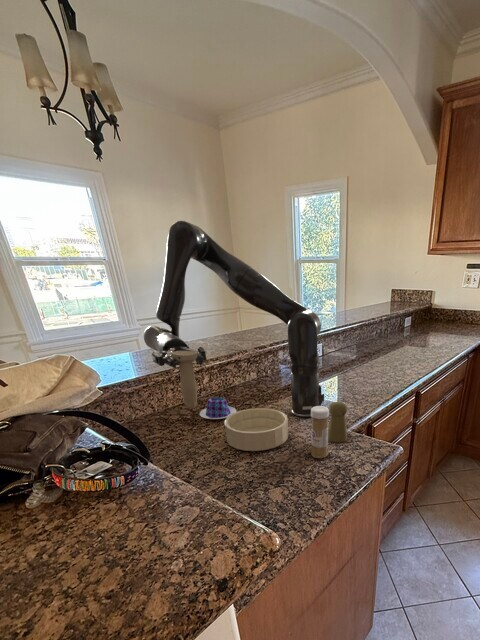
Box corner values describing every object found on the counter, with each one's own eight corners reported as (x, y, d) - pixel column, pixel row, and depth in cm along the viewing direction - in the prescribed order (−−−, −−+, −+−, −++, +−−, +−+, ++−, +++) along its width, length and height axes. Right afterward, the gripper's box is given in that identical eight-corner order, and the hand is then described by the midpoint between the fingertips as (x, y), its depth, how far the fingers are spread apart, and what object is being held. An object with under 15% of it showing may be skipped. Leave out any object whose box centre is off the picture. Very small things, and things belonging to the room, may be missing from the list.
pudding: (241, 408, 124) (239, 394, 122) (229, 422, 113) (227, 407, 111) (208, 406, 125) (206, 392, 123) (193, 420, 114) (191, 405, 112)
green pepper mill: (349, 435, 106) (351, 400, 101) (344, 443, 101) (345, 408, 96) (330, 432, 108) (331, 398, 103) (324, 440, 102) (324, 405, 98)
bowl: (272, 421, 114) (271, 404, 112) (298, 442, 101) (298, 423, 98) (218, 434, 105) (216, 415, 103) (240, 459, 92) (238, 438, 90)
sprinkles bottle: (307, 455, 94) (307, 408, 89) (318, 449, 98) (319, 404, 92) (320, 461, 92) (320, 413, 86) (331, 454, 95) (332, 408, 89)
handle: (196, 411, 95) (190, 356, 89) (176, 408, 97) (167, 353, 90) (206, 405, 100) (200, 352, 93) (186, 402, 101) (179, 349, 94)
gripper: (143, 338, 98) (155, 350, 86) (196, 334, 105) (213, 345, 93) (149, 364, 101) (160, 380, 89) (199, 358, 109) (217, 372, 96)
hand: (187, 362), depth 91 cm, fingers closed on handle, 6 cm apart
